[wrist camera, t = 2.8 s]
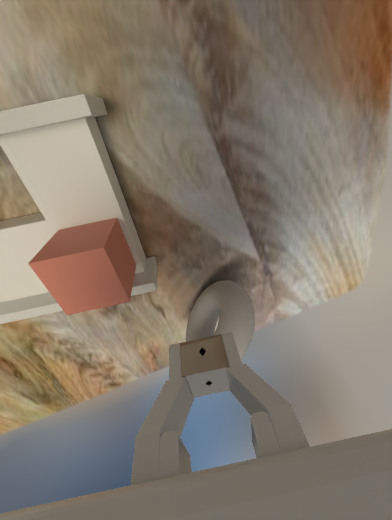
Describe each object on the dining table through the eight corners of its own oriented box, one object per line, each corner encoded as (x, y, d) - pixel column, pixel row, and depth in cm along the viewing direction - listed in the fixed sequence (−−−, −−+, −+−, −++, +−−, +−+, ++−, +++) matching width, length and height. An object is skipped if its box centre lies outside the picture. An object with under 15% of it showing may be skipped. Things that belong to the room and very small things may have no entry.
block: (58, 229, 18) (28, 263, 14) (117, 217, 18) (103, 247, 14) (85, 275, 21) (66, 315, 17) (136, 264, 21) (129, 301, 17)
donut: (220, 258, 25) (248, 329, 17) (243, 269, 26) (280, 340, 18) (177, 314, 29) (183, 393, 21) (199, 321, 31) (212, 398, 22)
